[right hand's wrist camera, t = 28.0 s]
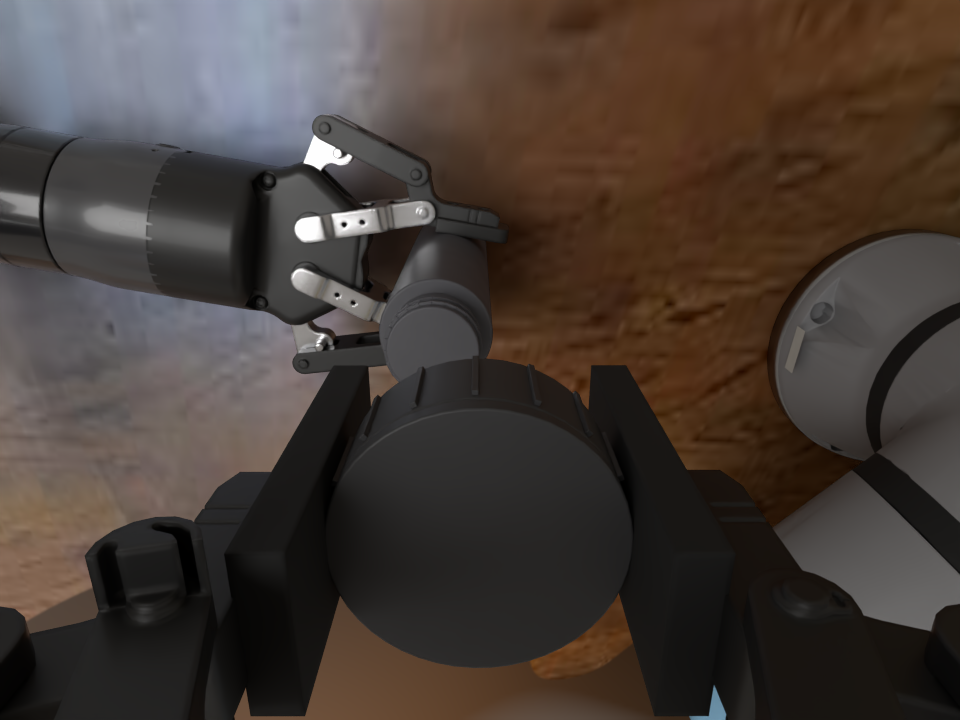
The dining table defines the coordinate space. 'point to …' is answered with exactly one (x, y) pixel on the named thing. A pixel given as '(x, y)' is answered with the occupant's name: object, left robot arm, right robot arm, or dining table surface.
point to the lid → (478, 516)
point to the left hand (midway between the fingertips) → (496, 279)
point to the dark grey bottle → (438, 305)
